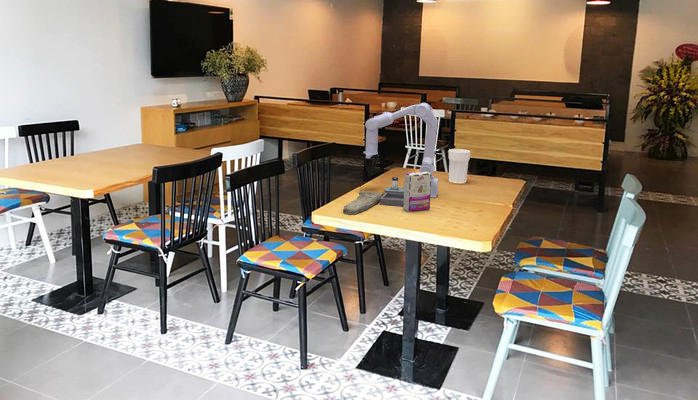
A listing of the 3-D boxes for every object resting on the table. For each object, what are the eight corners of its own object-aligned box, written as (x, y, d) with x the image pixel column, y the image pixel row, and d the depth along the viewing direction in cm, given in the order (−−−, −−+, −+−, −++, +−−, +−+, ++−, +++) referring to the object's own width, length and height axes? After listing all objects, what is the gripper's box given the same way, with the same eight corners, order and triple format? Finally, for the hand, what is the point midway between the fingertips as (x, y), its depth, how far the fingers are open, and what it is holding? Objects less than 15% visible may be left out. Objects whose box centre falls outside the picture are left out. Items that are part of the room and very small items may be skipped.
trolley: (412, 195, 287) (413, 181, 286) (409, 199, 279) (410, 184, 277) (384, 192, 291) (385, 178, 289) (381, 197, 282) (381, 182, 280)
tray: (413, 200, 277) (413, 194, 276) (408, 207, 265) (408, 201, 264) (385, 198, 280) (385, 192, 279) (379, 204, 268) (379, 198, 267)
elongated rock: (336, 216, 252) (358, 221, 248) (337, 204, 250) (359, 209, 247) (366, 195, 283) (386, 199, 279) (367, 185, 281) (387, 188, 278)
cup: (471, 182, 321) (473, 150, 317) (463, 186, 311) (465, 153, 307) (451, 179, 327) (453, 148, 322) (443, 183, 317) (445, 150, 313)
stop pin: (398, 195, 286) (398, 177, 284) (396, 196, 283) (397, 178, 281) (391, 195, 287) (392, 176, 285) (390, 196, 284) (391, 177, 282)
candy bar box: (423, 207, 266) (425, 171, 262) (430, 209, 261) (432, 173, 257) (402, 209, 260) (404, 172, 257) (408, 212, 256) (410, 174, 252)
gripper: (367, 140, 297) (366, 167, 300) (360, 144, 283) (359, 172, 286) (381, 141, 295) (380, 168, 298) (374, 145, 281) (373, 173, 285)
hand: (370, 170), depth 292 cm, fingers open, 7 cm apart
